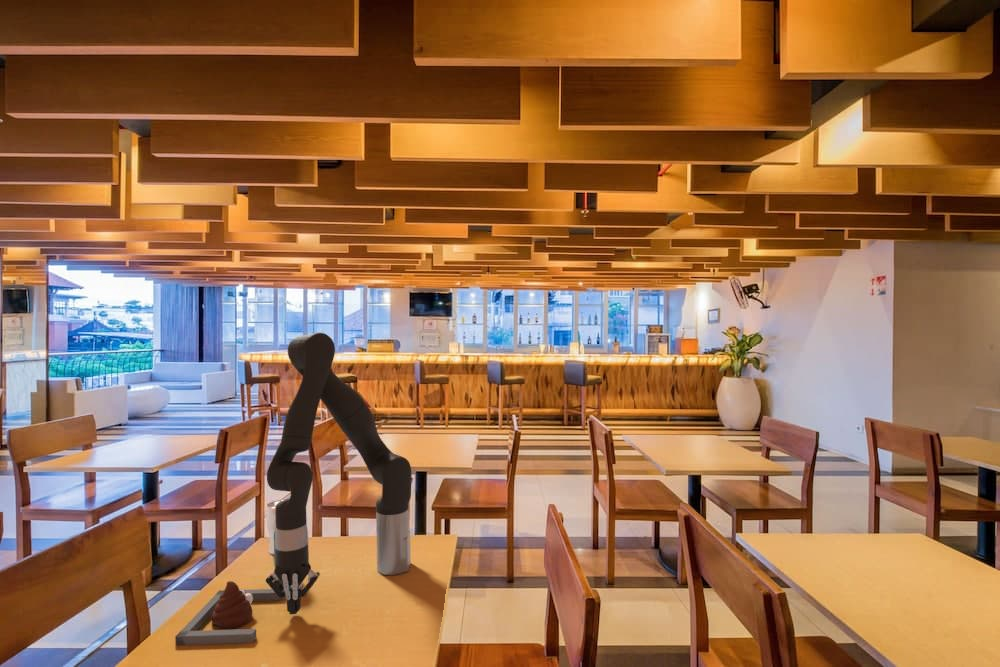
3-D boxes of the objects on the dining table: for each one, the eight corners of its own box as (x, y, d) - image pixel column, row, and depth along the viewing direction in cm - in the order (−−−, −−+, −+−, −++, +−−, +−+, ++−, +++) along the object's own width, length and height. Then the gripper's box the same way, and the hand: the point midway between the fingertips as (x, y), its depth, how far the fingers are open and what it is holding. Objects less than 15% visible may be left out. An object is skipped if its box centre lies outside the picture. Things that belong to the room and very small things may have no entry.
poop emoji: (203, 622, 128) (202, 584, 128) (236, 606, 135) (235, 569, 135) (228, 635, 123) (227, 595, 123) (261, 616, 130) (260, 579, 130)
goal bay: (285, 596, 140) (285, 588, 139) (252, 642, 120) (252, 634, 120) (219, 598, 139) (219, 590, 139) (175, 645, 119) (175, 636, 119)
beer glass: (296, 548, 169) (294, 501, 168) (278, 557, 162) (277, 508, 162) (280, 544, 172) (278, 498, 171) (262, 553, 165) (261, 505, 165)
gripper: (323, 535, 133) (325, 603, 134) (270, 537, 133) (273, 605, 134) (314, 549, 126) (316, 620, 126) (257, 550, 126) (260, 622, 126)
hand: (293, 612), depth 130 cm, fingers closed
